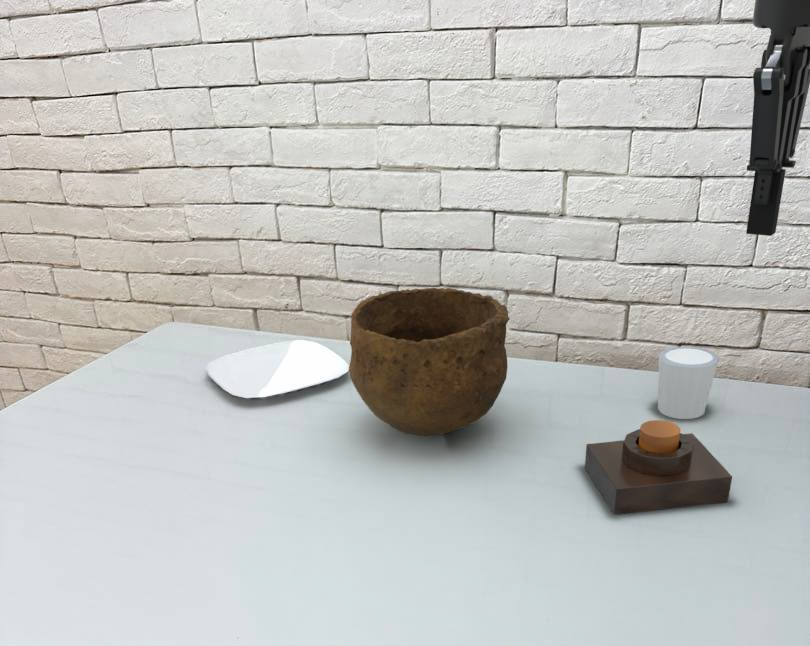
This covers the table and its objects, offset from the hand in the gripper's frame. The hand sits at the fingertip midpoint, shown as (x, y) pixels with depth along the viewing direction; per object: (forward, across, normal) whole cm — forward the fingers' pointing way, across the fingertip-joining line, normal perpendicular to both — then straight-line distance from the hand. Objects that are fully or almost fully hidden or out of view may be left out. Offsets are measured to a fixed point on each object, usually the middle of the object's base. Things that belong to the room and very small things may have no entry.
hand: (760, 232), depth 94 cm
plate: (+20, +22, -57) cm, 64 cm away
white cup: (+21, +4, -5) cm, 22 cm away
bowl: (+20, +24, -29) cm, 43 cm away
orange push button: (+16, +23, -1) cm, 28 cm away
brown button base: (+21, +23, -1) cm, 31 cm away
